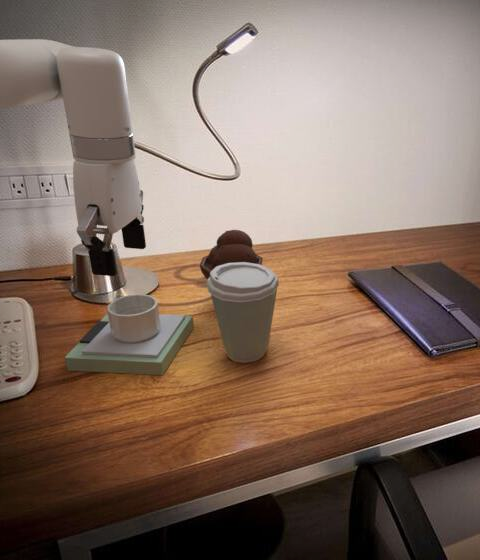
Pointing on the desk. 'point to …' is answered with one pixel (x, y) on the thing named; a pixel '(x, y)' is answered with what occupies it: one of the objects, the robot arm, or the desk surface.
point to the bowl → (134, 318)
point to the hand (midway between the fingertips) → (120, 260)
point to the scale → (130, 348)
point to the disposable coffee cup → (243, 307)
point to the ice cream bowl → (230, 251)
